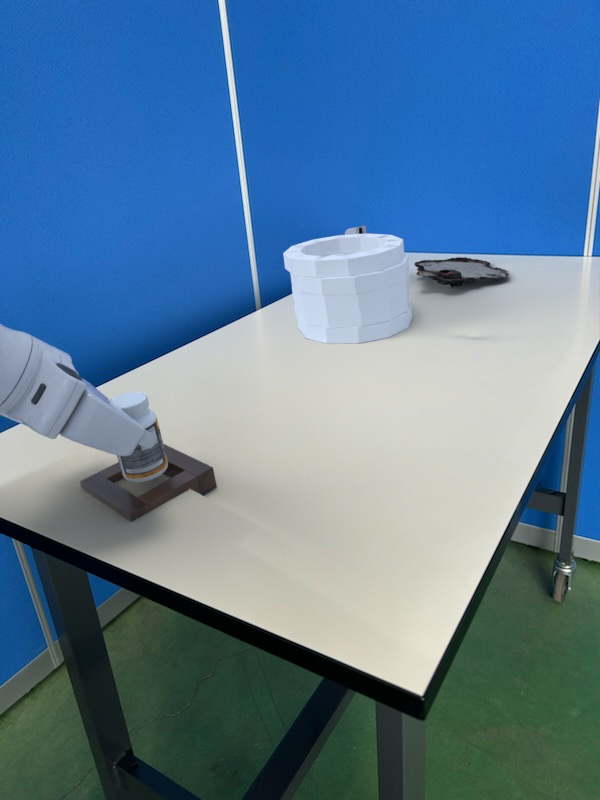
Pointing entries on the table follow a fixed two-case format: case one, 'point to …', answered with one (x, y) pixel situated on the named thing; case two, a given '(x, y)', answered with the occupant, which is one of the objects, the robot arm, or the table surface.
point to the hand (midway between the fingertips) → (141, 431)
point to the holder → (182, 478)
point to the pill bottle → (142, 460)
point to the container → (350, 287)
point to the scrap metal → (459, 270)
